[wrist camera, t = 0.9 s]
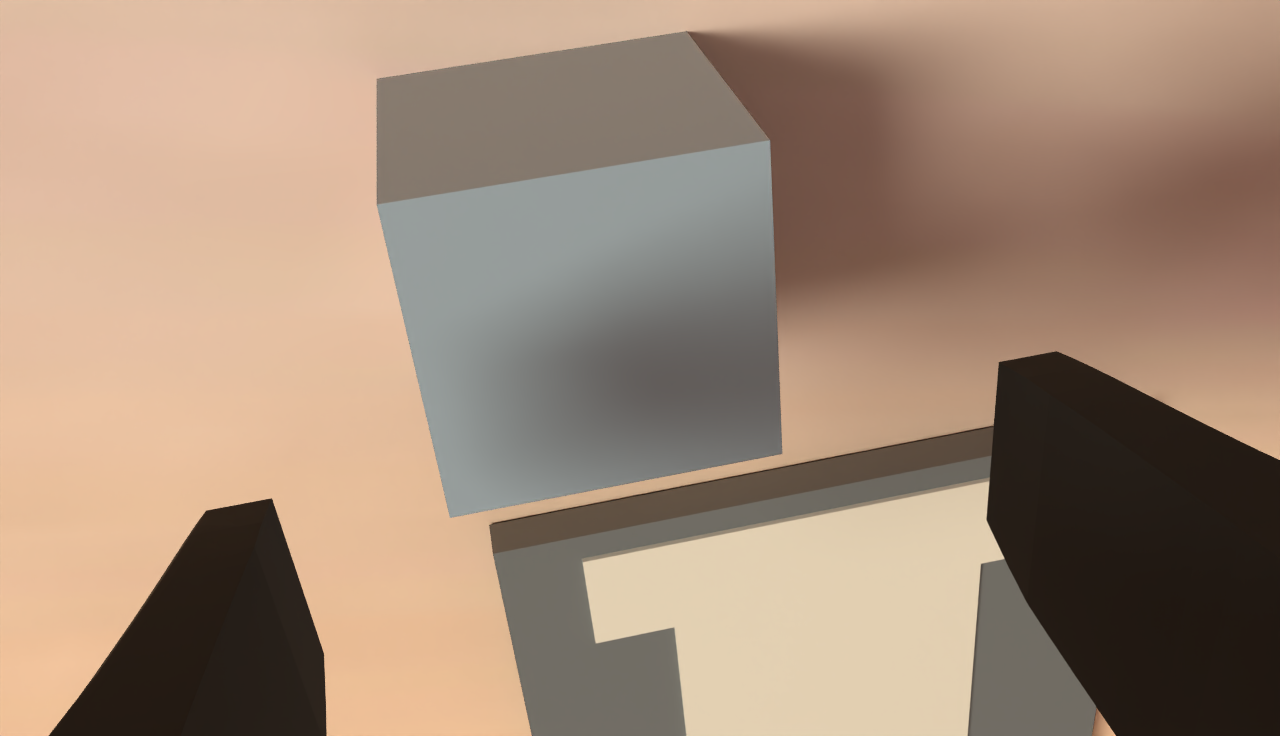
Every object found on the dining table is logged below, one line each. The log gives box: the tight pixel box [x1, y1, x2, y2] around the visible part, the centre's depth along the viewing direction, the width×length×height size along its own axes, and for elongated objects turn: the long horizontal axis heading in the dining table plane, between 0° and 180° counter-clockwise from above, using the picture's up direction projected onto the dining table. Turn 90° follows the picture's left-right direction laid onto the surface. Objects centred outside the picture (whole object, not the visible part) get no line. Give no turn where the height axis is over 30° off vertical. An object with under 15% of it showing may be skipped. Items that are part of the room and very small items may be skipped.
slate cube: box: [377, 31, 782, 518], centre depth 17 cm, size 4×4×4 cm
